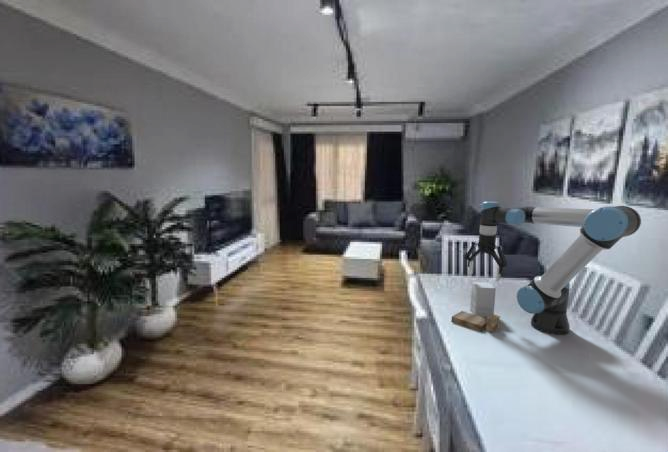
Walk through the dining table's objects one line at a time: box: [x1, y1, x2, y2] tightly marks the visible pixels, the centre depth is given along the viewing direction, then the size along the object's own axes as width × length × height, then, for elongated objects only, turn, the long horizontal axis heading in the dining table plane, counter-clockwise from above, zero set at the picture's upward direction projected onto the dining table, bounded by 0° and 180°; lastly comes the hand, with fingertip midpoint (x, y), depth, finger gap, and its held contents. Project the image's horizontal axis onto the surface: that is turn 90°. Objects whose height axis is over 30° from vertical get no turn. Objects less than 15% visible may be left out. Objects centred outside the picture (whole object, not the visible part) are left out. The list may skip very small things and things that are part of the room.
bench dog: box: [485, 313, 501, 334], centre depth 163 cm, size 3×6×6 cm, turn 134°
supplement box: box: [469, 281, 496, 318], centre depth 180 cm, size 9×9×15 cm
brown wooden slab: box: [451, 310, 487, 332], centre depth 170 cm, size 14×10×3 cm
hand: (484, 276), depth 178 cm, fingers open, 13 cm apart
